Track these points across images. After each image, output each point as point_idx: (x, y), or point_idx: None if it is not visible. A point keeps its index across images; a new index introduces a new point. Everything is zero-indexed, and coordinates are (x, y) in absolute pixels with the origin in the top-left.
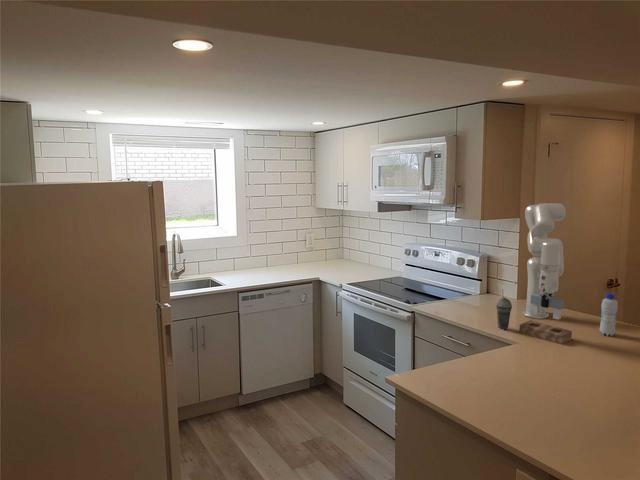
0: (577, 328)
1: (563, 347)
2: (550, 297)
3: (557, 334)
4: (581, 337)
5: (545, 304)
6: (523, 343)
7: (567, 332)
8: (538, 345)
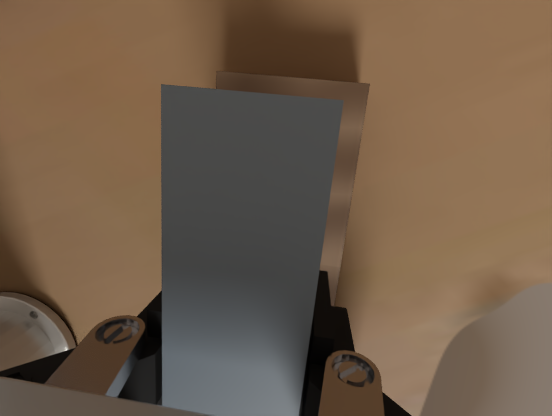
0: (37, 120)
1: (400, 62)
2: (205, 348)
3: (357, 117)
4: (160, 47)
5: (346, 316)
6: (478, 250)
7: (269, 81)
8: (459, 181)
